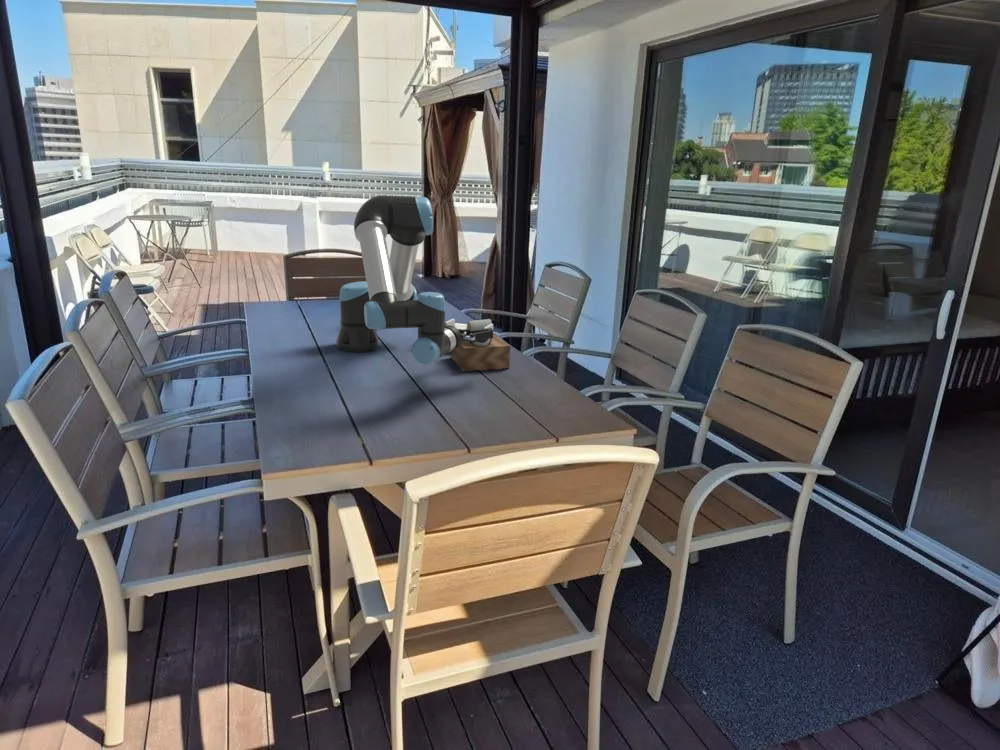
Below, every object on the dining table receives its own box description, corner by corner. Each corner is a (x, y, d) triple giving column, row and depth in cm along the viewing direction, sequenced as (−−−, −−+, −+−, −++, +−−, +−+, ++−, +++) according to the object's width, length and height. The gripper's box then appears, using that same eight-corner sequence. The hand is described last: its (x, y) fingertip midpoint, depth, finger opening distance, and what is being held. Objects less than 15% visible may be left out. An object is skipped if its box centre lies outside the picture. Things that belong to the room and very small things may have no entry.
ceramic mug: (465, 338, 220) (466, 316, 217) (488, 338, 222) (489, 316, 219) (470, 347, 210) (471, 325, 208) (494, 347, 212) (495, 324, 209)
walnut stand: (464, 371, 211) (464, 348, 209) (451, 357, 225) (451, 335, 223) (509, 368, 216) (510, 345, 214) (493, 355, 231) (494, 333, 228)
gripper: (408, 346, 195) (438, 331, 214) (483, 357, 187) (507, 341, 206) (408, 322, 193) (438, 309, 212) (484, 333, 185) (509, 318, 204)
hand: (472, 325), depth 209 cm, fingers open, 13 cm apart
